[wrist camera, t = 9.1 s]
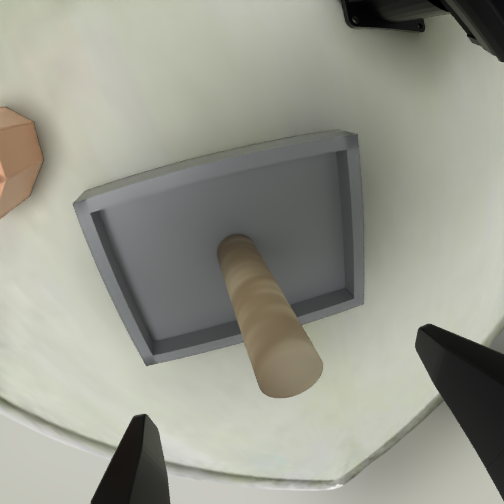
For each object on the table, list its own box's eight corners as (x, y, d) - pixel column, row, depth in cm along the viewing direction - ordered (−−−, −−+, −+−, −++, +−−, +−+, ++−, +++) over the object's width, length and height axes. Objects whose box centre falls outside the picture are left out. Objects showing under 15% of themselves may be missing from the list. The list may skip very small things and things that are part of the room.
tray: (337, 129, 19) (357, 134, 17) (348, 286, 25) (363, 304, 22) (84, 191, 17) (72, 203, 15) (147, 342, 23) (146, 365, 21)
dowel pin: (251, 229, 20) (321, 342, 10) (258, 263, 21) (324, 385, 12) (212, 239, 19) (252, 364, 10) (221, 273, 21) (264, 405, 11)
